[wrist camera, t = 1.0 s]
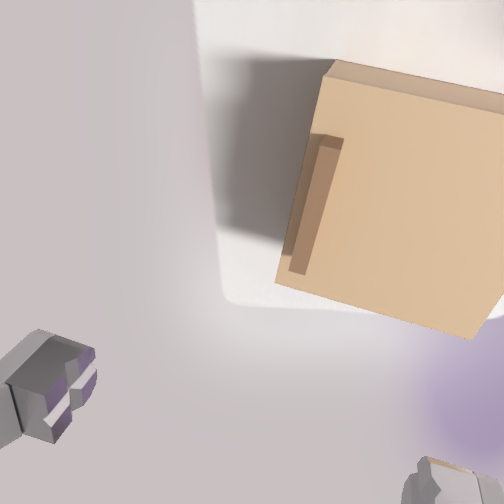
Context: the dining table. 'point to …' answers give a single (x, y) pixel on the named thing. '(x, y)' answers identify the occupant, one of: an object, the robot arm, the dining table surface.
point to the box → (418, 85)
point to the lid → (400, 207)
